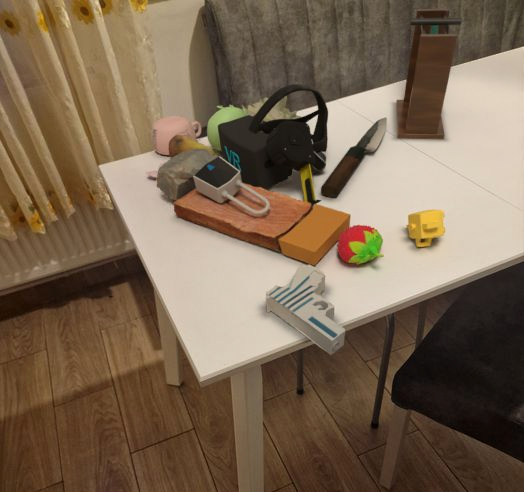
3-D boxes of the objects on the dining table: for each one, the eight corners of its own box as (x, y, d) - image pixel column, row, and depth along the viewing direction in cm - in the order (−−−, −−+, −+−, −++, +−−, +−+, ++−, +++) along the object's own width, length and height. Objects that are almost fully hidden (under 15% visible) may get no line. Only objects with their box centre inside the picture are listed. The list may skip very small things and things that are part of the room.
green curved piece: (207, 84, 101) (189, 112, 111) (220, 138, 101) (202, 161, 111) (258, 85, 107) (237, 111, 116) (270, 136, 107) (249, 158, 117)
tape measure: (297, 133, 95) (262, 127, 90) (311, 122, 91) (275, 115, 87) (309, 208, 94) (274, 206, 90) (323, 200, 91) (288, 197, 86)
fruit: (169, 126, 104) (226, 132, 106) (169, 147, 110) (224, 152, 111) (167, 147, 102) (225, 153, 104) (168, 167, 108) (223, 172, 109)
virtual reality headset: (214, 166, 108) (202, 94, 97) (300, 134, 115) (298, 63, 103) (259, 203, 97) (251, 126, 86) (351, 165, 103) (355, 88, 92)
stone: (191, 149, 102) (206, 129, 95) (215, 182, 104) (231, 166, 97) (146, 177, 96) (159, 158, 90) (172, 212, 98) (187, 196, 91)
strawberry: (324, 223, 80) (364, 251, 74) (360, 210, 83) (402, 236, 77) (322, 254, 84) (360, 283, 78) (357, 240, 87) (396, 267, 81)
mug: (140, 119, 111) (147, 145, 115) (157, 132, 105) (163, 160, 109) (189, 106, 115) (193, 132, 119) (208, 117, 109) (212, 145, 113)
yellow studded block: (428, 242, 88) (401, 247, 88) (426, 209, 87) (398, 213, 86) (452, 244, 81) (422, 249, 80) (450, 207, 79) (420, 212, 79)
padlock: (219, 153, 91) (279, 190, 85) (222, 172, 95) (280, 208, 89) (192, 174, 89) (252, 213, 83) (197, 192, 93) (254, 230, 87)
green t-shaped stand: (399, 95, 116) (410, 14, 104) (443, 95, 115) (460, 13, 103) (399, 106, 112) (411, 22, 100) (445, 106, 111) (463, 22, 99)
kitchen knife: (346, 189, 93) (321, 184, 95) (345, 200, 95) (320, 195, 97) (397, 113, 114) (375, 110, 116) (395, 123, 116) (374, 120, 118)
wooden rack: (396, 103, 124) (409, 8, 109) (437, 104, 122) (457, 8, 108) (397, 138, 111) (412, 36, 97) (443, 139, 110) (466, 36, 95)
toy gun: (306, 261, 78) (258, 291, 74) (378, 307, 70) (329, 343, 66) (306, 276, 80) (259, 306, 76) (376, 322, 73) (328, 358, 69)
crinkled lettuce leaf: (283, 124, 127) (231, 134, 121) (280, 91, 123) (227, 100, 117) (320, 127, 115) (264, 139, 109) (318, 90, 111) (260, 100, 105)
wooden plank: (313, 268, 82) (313, 252, 79) (174, 218, 94) (170, 202, 91) (349, 228, 89) (351, 212, 86) (216, 186, 101) (214, 171, 98)
